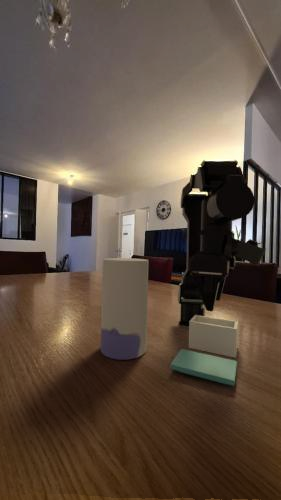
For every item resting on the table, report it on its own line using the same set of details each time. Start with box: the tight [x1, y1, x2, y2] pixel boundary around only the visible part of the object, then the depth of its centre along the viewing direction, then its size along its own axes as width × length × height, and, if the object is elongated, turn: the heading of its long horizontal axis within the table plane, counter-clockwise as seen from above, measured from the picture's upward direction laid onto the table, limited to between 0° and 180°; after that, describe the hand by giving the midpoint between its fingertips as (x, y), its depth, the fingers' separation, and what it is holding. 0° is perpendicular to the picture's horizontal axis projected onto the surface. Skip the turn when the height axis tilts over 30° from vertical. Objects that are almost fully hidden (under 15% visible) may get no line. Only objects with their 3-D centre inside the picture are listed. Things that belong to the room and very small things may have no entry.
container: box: [100, 257, 149, 361], centre depth 50 cm, size 10×10×20 cm
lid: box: [169, 348, 238, 387], centre depth 41 cm, size 11×7×2 cm
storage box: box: [188, 315, 239, 358], centre depth 52 cm, size 10×6×6 cm, turn 64°
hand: (213, 305), depth 44 cm, fingers open, 9 cm apart
